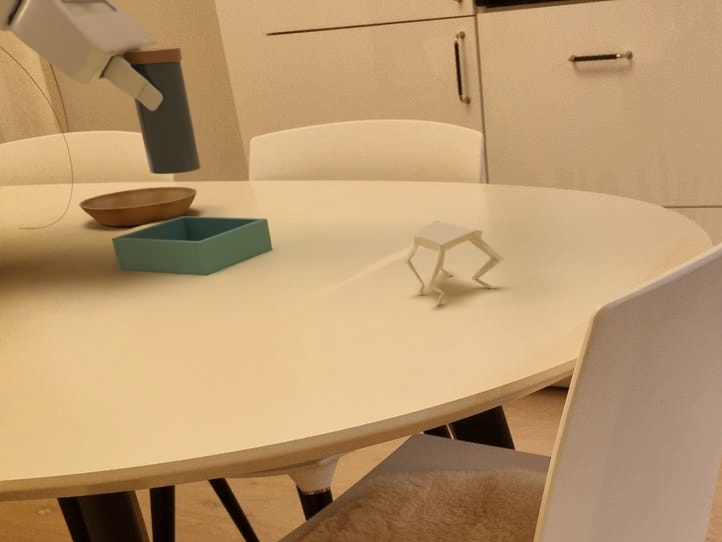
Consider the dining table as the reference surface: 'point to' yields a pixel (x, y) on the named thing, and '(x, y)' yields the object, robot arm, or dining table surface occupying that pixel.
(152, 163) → the jar
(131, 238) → the green shallow square box
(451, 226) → the cream legged block
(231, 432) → the dining table surface
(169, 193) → the plant saucer
